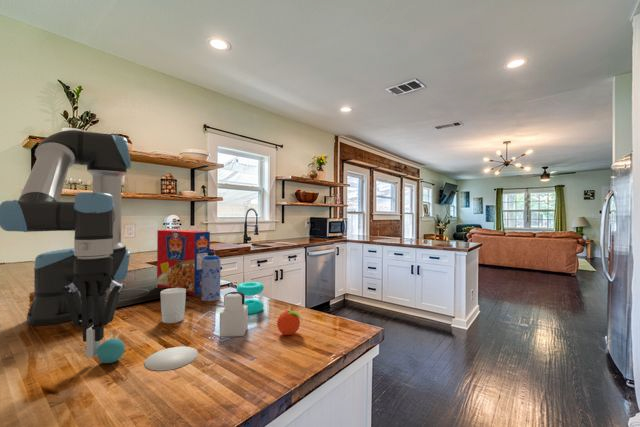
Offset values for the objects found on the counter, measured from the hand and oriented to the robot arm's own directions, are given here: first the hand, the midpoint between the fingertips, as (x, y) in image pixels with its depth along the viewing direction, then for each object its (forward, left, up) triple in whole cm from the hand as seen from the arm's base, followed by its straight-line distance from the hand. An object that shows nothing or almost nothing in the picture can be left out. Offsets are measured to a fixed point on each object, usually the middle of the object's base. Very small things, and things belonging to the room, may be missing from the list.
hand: (93, 354), depth 71 cm
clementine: (+48, +11, -3) cm, 49 cm away
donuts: (+34, +35, -3) cm, 49 cm away
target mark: (+18, 0, -2) cm, 18 cm away
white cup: (+9, +28, -3) cm, 30 cm away
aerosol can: (+16, +53, -3) cm, 56 cm away
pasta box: (-1, +71, -3) cm, 71 cm away
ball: (+4, 0, 0) cm, 4 cm away
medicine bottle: (+31, +15, -3) cm, 35 cm away
